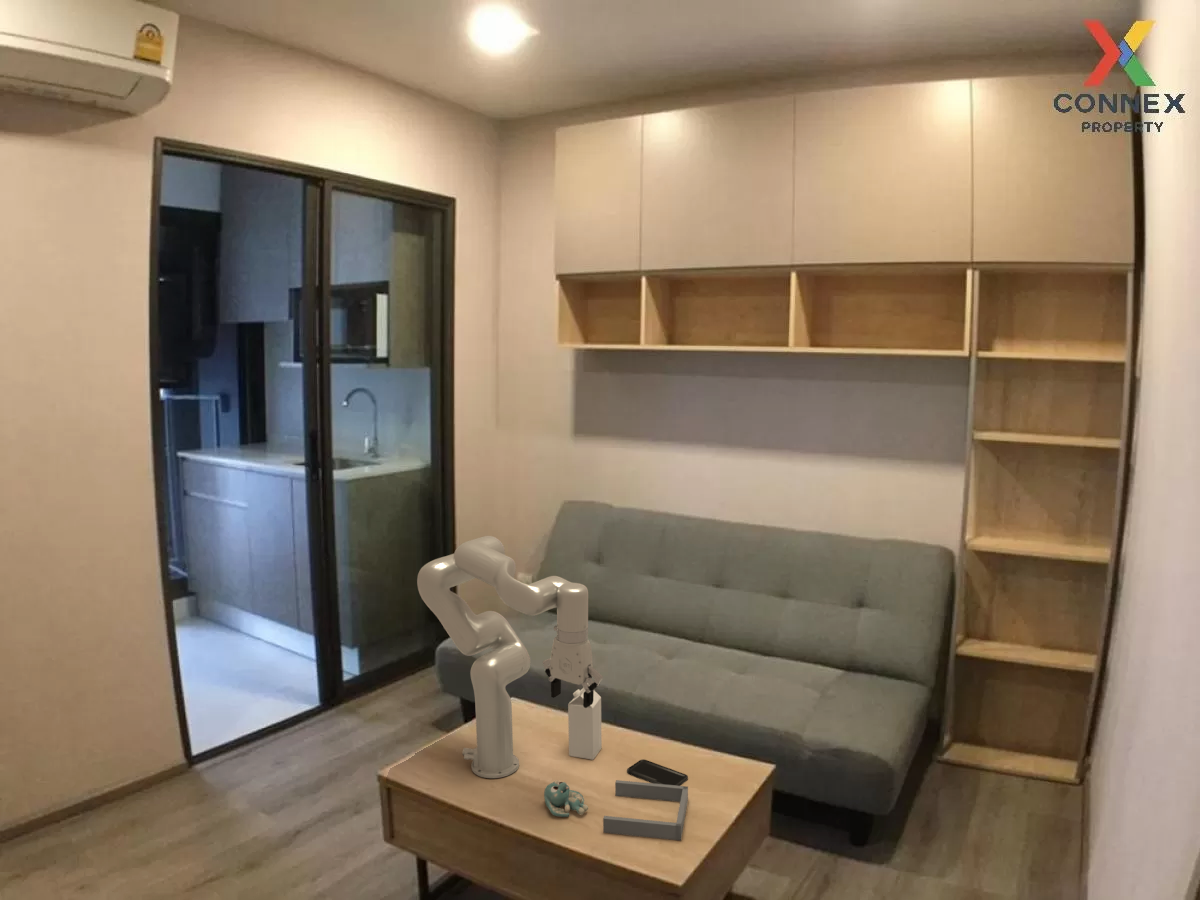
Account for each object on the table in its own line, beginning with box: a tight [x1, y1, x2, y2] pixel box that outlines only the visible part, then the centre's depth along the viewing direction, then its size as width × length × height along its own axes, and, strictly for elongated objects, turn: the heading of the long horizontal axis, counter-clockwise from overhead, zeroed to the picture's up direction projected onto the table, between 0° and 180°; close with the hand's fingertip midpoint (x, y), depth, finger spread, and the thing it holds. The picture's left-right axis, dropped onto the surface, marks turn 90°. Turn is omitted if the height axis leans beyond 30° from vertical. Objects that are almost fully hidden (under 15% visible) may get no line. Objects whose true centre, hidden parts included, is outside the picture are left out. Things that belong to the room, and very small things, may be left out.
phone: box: [626, 758, 689, 786], centre depth 225 cm, size 8×1×15 cm
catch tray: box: [602, 779, 689, 842], centre depth 206 cm, size 18×17×4 cm
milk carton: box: [567, 682, 602, 761], centre depth 237 cm, size 7×7×19 cm
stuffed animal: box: [543, 779, 589, 818], centre depth 210 cm, size 11×7×12 cm
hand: (571, 700), depth 213 cm, fingers open, 9 cm apart
